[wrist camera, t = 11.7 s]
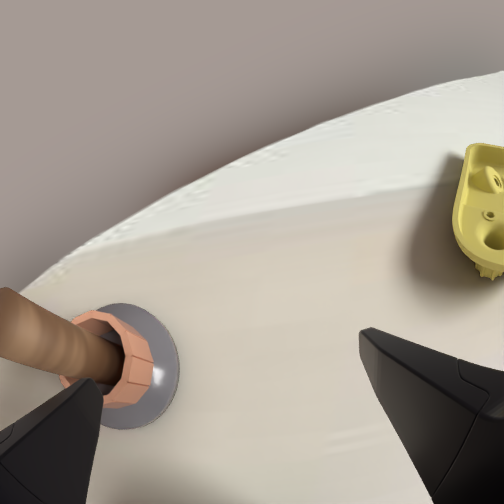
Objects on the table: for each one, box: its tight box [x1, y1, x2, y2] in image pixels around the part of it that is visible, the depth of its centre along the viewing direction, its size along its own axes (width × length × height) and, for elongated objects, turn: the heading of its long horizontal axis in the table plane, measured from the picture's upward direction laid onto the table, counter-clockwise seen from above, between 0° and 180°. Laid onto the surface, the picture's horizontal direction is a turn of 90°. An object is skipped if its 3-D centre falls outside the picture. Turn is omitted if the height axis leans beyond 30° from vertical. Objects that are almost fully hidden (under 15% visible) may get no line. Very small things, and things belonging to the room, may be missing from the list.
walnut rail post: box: [0, 287, 126, 386], centre depth 16 cm, size 4×4×12 cm
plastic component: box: [452, 143, 504, 280], centre depth 22 cm, size 20×7×10 cm
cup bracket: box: [59, 303, 179, 429], centre depth 20 cm, size 11×11×4 cm
